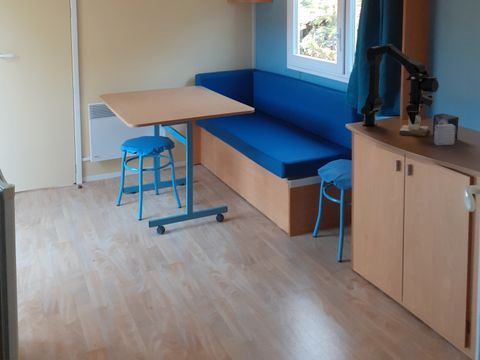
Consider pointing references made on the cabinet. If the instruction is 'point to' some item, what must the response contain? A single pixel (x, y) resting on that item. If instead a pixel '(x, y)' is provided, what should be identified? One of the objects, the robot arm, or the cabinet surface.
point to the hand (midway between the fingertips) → (414, 122)
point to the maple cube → (416, 124)
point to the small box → (445, 121)
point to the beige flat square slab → (413, 131)
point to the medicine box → (444, 134)
